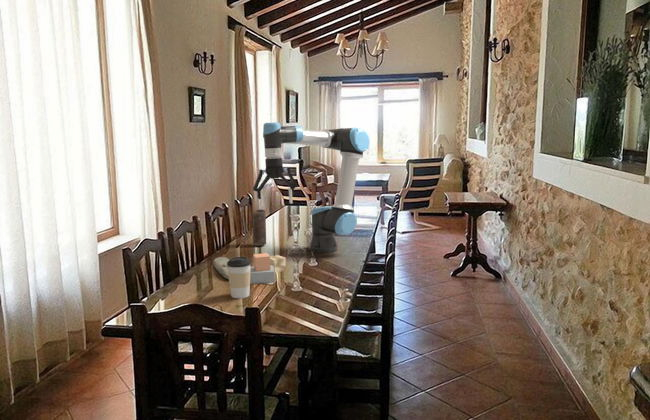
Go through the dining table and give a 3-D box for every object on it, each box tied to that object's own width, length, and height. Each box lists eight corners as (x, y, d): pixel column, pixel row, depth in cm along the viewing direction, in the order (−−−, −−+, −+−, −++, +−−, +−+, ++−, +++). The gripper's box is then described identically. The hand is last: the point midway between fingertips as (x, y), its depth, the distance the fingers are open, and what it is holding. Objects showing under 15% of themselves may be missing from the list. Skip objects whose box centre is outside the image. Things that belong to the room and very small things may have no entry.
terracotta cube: (267, 266, 213) (267, 253, 212) (270, 270, 207) (269, 256, 206) (253, 267, 211) (253, 254, 210) (256, 271, 205) (255, 257, 204)
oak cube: (278, 267, 228) (278, 255, 227) (285, 270, 223) (285, 257, 222) (267, 270, 224) (267, 257, 223) (274, 273, 219) (274, 260, 218)
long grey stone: (229, 263, 242) (209, 267, 238) (228, 253, 242) (208, 256, 238) (248, 278, 210) (225, 283, 207) (246, 266, 210) (223, 271, 206)
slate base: (273, 276, 215) (273, 265, 215) (274, 283, 206) (274, 271, 205) (250, 277, 214) (250, 266, 213) (250, 284, 204) (250, 273, 203)
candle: (269, 244, 274) (267, 209, 271) (263, 247, 267) (261, 211, 264) (256, 243, 277) (255, 209, 273) (250, 246, 270) (249, 211, 267)
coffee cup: (229, 292, 194) (228, 255, 192) (252, 291, 195) (251, 254, 192) (227, 299, 185) (225, 261, 183) (251, 298, 186) (249, 260, 183)
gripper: (247, 160, 210) (250, 208, 214) (302, 156, 218) (305, 203, 222) (244, 159, 217) (247, 206, 221) (298, 155, 225) (300, 200, 229)
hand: (276, 204), depth 221 cm, fingers open, 13 cm apart
